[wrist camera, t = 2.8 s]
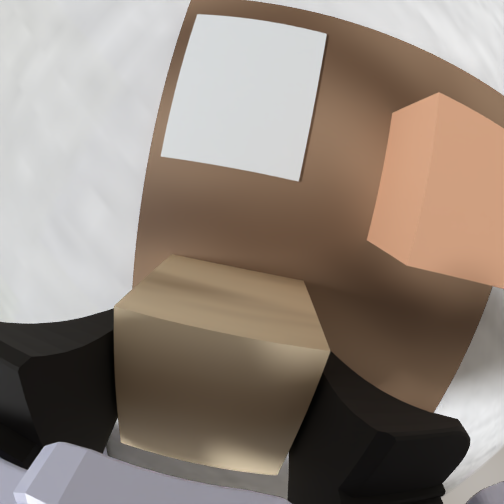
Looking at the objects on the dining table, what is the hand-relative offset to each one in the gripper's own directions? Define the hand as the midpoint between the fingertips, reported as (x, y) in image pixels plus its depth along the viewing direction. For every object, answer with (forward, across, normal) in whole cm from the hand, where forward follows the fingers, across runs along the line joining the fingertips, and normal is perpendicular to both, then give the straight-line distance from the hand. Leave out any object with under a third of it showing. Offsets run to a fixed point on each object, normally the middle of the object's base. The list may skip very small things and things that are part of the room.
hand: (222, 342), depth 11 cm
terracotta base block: (+1, -7, -7) cm, 10 cm away
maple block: (+1, 0, 0) cm, 1 cm away
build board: (+2, -4, -3) cm, 5 cm away
